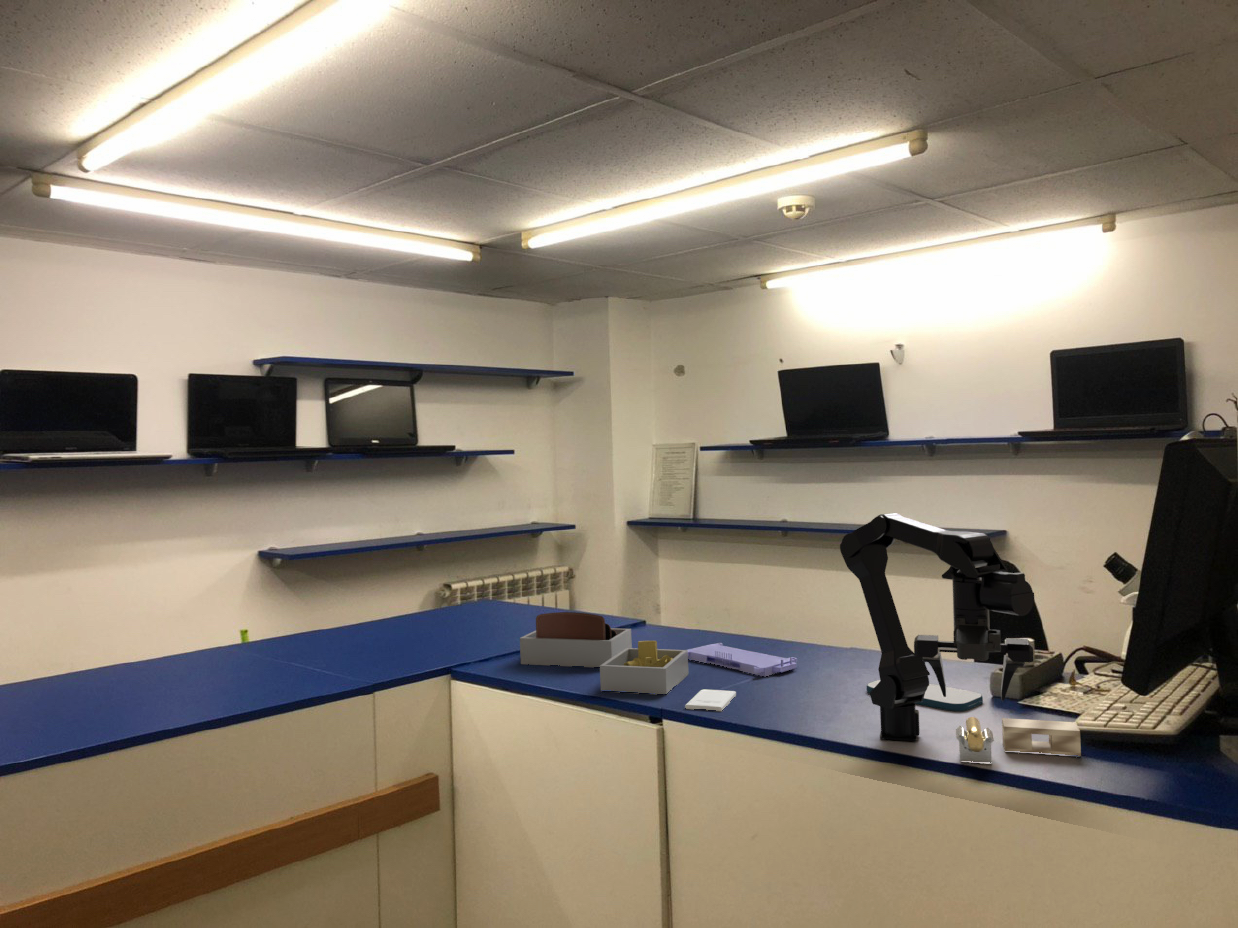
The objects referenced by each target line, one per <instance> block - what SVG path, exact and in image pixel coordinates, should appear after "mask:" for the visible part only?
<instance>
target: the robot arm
mask: <svg viewBox="0 0 1238 928" xmlns="http://www.w3.org/2000/svg"><path fill="white" fill-rule="evenodd" d="M896 540H898V541H901V542H903V543H906V544H909V545H912V546H914V547H918V548H920V549H923V550H927V551H930V552H932V553H933V554H935V555H937V557H938V558H939V560H940V561H942V562H943V563H945V564H946V565H948V566H949V568H947V570H946V571H945V572H944V573H942V574H941V578H942V579H944V580H952V610H953V611H952V613H953V615H952V617H953V634H952V635H953V641H949V640H948V641H947V640H939V635H934V634H933V635H932V634H917V635H916V636H915V637H914V641H913V650H912V649H911V648H910V647H909V645H908V641H907V639H906V636H905V633H904V629H903V627H902V623H901V620H900V617H899V613H898V610H897V608H896V605H895V601H894V598H893V594H892V592H891V588H890V586H889V583H888V579H887V575H886V569H887V566H888V561H889V555H888V550H887V549H889V548H890V547H891V546H892V545H894V543H895V542H896ZM839 550H840V553H841V556H842V558H843V560H844V562H845V565H846V567H847V568H848V570H849V571H850V572H851V573H852V574H853V575H854V576H855V577H856V578H857V579H858V581H859V583H860V587H861V590H862V593H863V596H864V597H863V598H864V599H865V602H866V607H867V608H868V612H869V616H870V619H871V622H872V626H873V628H874V633H875V635H876V638H877V641H878V645H879V649H880V652H881V654H880V655H881V656H880V659H879V665H878V674H879V675H878V676H879V680H880V682H879V683H878V684H877V685H876V686H875V687H874V689H873V690H872V691H871V692H870V694H869V697H870V700H871V703H872V704H873V705H875V706H878V707H879V715H880V716H879V718H880V734H879V739H880V740H889V741H891V740H892V741H904V742H905V741H906V742H917V741H918V737H919V736H920V732H921V731H920V730H921V729H920V711H919V709H916V704H915V703H916V702H922V701H923V699H924V695H925V692H926V690H927V687H928V686H929V683H930V679H929V676H930V675H931V673H930V671H929V669H928V668H927V665H926V663H928V664H929V666H930V667H931V668H932V671H933V673H934V674H935V677H936V679H937V683H938V685H940V688H941V691H942V694H943V696H944V697H946V687H947V684H946V679H945V672H944V666H943V660H942V653H953V654H954V653H956V657H957V658H958V659H959V660H964V661H966V660H978V661H981V662H982V661H983V662H985V661H988V659H990V658H989V655H999V656H1003V663H1002V676H1001V683H1000V698H1001V700H1000V701H1005V698H1006V696H1007V692H1008V690H1009V688H1010V687H1009V686H1010V683H1011V681H1012V679H1013V676H1014V674H1015V672H1016V671H1017V669H1018V668H1019V667H1021V668H1023V667H1025V665H1026V663H1033V662H1034V661H1035V660H1034V646H1033V645H1032V642H1031V641H1030V640H1029V639H1028V638H1015V637H1014V638H1013V637H1011V638H1009V637H1008V638H1007V637H1006V638H1005V643H1002V639H1001V637H1002V636H1001V629H990V627H991V626H990V612H996V613H1002V614H1008V615H1013V616H1014V615H1015V616H1020V617H1023V616H1026V615H1028V614H1030V612H1031V611H1032V609H1033V606H1034V603H1035V592H1034V591H1033V588H1032V586H1031V584H1030V583H1029V582H1028V581H1026V575H1025V573H1024V572H1014V573H1013V572H1009V569H1008V568H1007V567H1006V565H1005V563H1004V561H1003V559H1002V558H1001V557H1000V556H999V554H998V552H997V551H996V549H995V547H994V546H993V543H992V540H991V537H989V536H988V534H985V533H984V532H983V533H982V532H975V531H963V530H962V531H961V530H960V531H959V530H947V529H944V528H941V527H938V526H934V525H931V524H927V523H924V522H922V521H918V520H915V519H912V518H908V517H906V516H903V515H901V514H899V513H896V512H893V513H890V512H889V513H881V514H878V515H877V516H874V518H872V520H871V521H869V522H867V523H865V524H863V525H862V526H860V527H858V528H857V529H855V530H853V531H852V532H849V533H846V534H845V535H844V536H843V538H842V540H841V543H840V545H839Z"/></svg>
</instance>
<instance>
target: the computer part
mask: <svg viewBox="0 0 1238 928" xmlns="http://www.w3.org/2000/svg"><path fill="white" fill-rule="evenodd" d="M687 650H688V659H691V660H695V661H699V662H698V663H700V662H704V663H707V664H710V663H711V664H710V665H714V664H715V666H717V665H720V666H719V667H722V666H724V667H723V668H726V667H727V669H731V668H732V669H731V670H737V671H739V672H740V671H743V672H742V673H744V672H748V673H747V674H749V673H752V674H751V675H753V674H756V675H755V676H758V675H761V676H760V677H762V676H764V677H763V678H767V677H766V676H768V677H770V676H769V675H772V674H773V675H775V674H774V673H776V674H778V673H777V672H781V673H784V672H787V671H789V670H790V671H791V670H796V669H797V662H798V658H797V657H793V656H790V657H788V658H787V657H782V656H776V655H771V654H766V653H761V652H756V651H752V650H746V649H740V648H736V647H730V646H726V645H723V643H722V642H717V643H711V644H706V645H702V646H697V647H694V648H693V647H692V648H688V649H687ZM691 660H690V661H691ZM695 661H694V662H695ZM704 663H703V664H704ZM773 675H772V676H773Z"/></svg>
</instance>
